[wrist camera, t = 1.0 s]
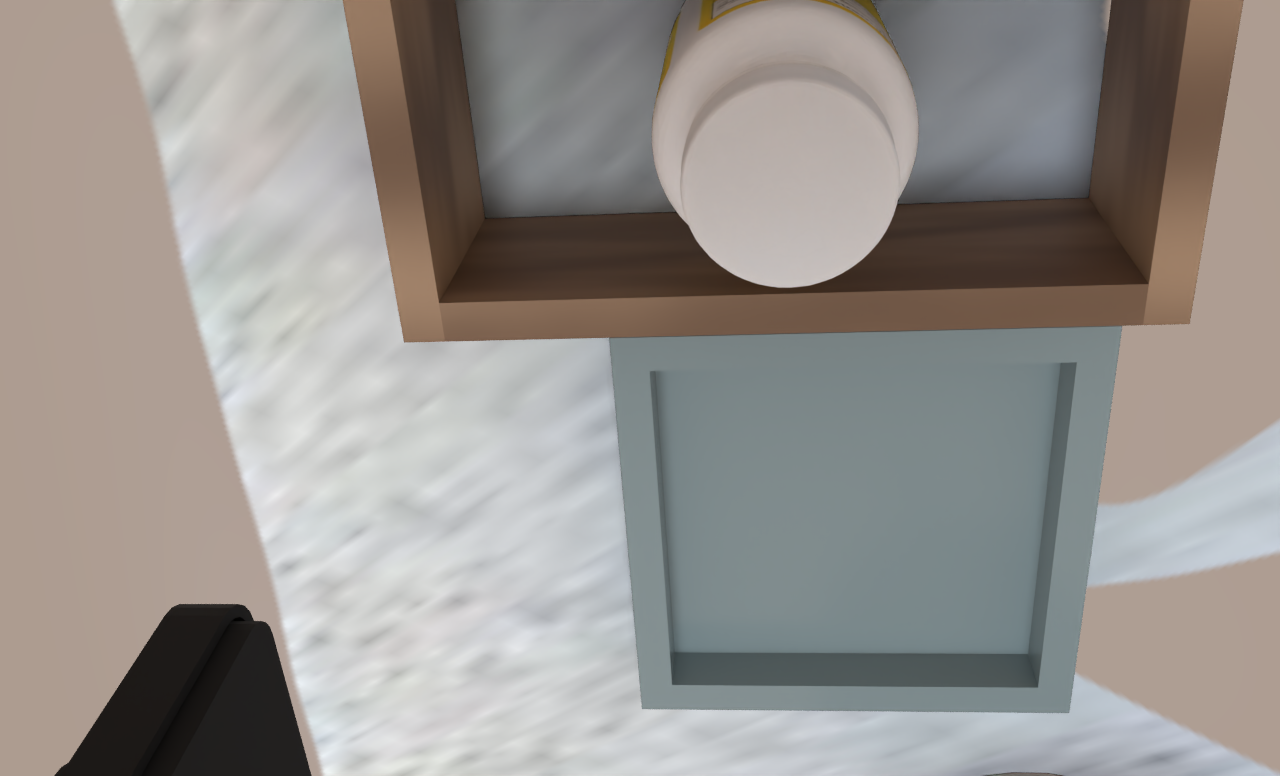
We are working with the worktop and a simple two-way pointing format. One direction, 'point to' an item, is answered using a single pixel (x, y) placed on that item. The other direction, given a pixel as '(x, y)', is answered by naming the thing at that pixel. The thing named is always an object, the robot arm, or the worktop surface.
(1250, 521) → the worktop surface
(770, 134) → the supplement bottle
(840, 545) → the tray
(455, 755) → the worktop surface
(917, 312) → the holder
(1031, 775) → the mate gourd
